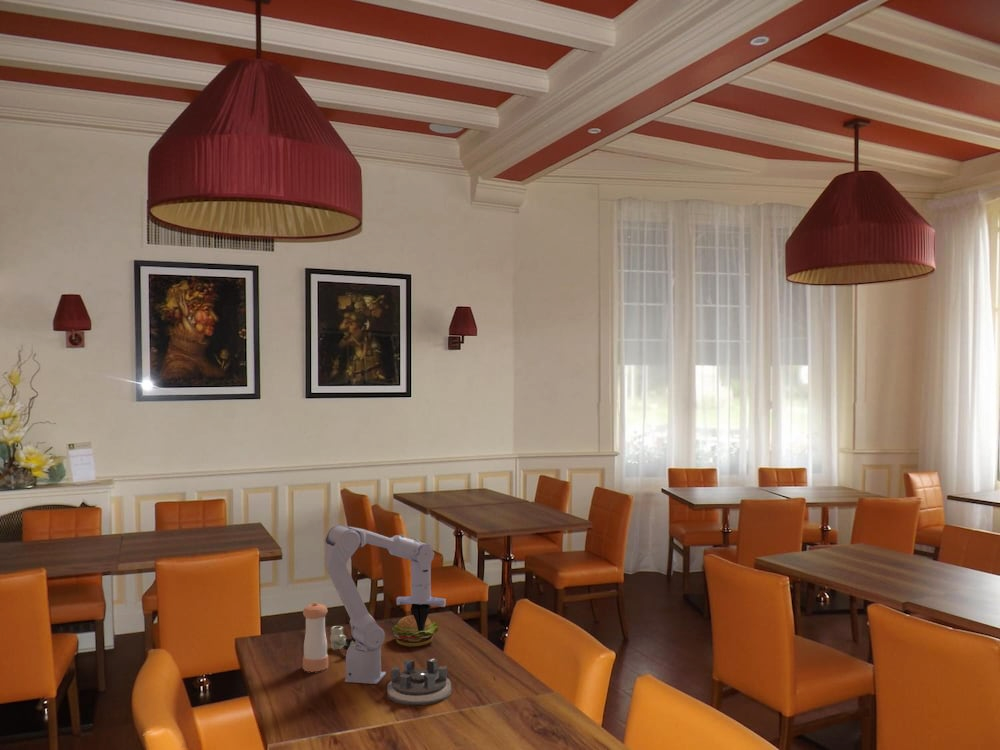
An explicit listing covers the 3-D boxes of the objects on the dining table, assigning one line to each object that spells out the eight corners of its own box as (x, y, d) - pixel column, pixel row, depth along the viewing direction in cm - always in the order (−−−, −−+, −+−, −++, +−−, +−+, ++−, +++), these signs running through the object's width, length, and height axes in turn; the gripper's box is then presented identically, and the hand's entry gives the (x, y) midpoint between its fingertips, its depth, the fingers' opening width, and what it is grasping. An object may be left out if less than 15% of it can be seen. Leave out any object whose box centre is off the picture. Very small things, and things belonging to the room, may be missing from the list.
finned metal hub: (426, 698, 195) (426, 681, 195) (380, 688, 202) (380, 671, 202) (456, 679, 207) (456, 663, 207) (412, 669, 214) (412, 654, 214)
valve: (324, 649, 239) (344, 659, 230) (324, 628, 239) (344, 637, 230) (342, 644, 243) (363, 653, 234) (342, 623, 243) (363, 632, 235)
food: (400, 651, 236) (400, 626, 236) (388, 638, 249) (388, 613, 249) (442, 645, 241) (442, 620, 241) (428, 632, 254) (428, 608, 254)
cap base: (378, 703, 198) (378, 694, 198) (398, 678, 214) (398, 670, 214) (441, 707, 195) (441, 699, 195) (457, 682, 211) (457, 674, 211)
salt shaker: (297, 670, 221) (297, 604, 221) (312, 662, 227) (312, 597, 228) (318, 674, 218) (318, 606, 218) (333, 665, 225) (333, 600, 225)
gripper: (448, 581, 227) (448, 626, 227) (401, 579, 230) (401, 624, 229) (442, 587, 220) (442, 634, 220) (394, 585, 223) (394, 631, 222)
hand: (421, 629), depth 224 cm, fingers closed
